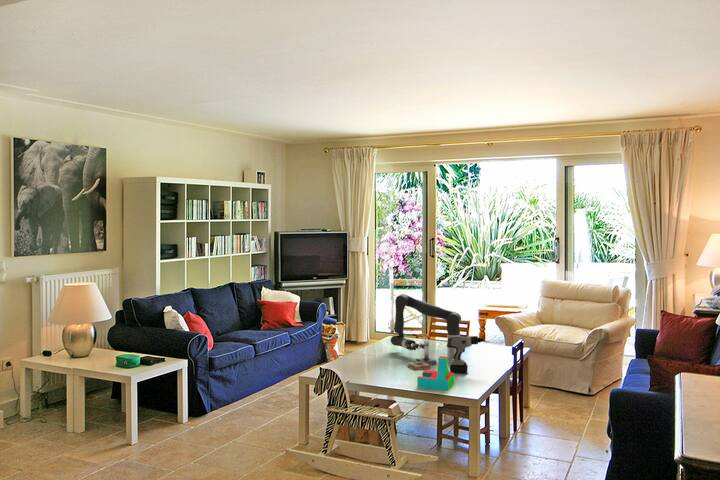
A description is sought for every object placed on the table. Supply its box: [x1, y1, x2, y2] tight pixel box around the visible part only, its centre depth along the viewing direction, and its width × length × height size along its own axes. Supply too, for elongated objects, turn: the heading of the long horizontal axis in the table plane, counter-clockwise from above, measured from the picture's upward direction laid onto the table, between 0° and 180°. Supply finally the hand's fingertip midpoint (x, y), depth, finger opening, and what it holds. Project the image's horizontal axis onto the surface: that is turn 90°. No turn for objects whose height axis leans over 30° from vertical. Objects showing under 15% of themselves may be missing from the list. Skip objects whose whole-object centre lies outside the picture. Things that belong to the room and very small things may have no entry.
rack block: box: [407, 361, 432, 371], centre depth 422 cm, size 12×10×2 cm
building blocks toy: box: [416, 356, 455, 391], centre depth 381 cm, size 19×25×18 cm
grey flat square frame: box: [416, 357, 437, 365], centre depth 436 cm, size 10×10×2 cm
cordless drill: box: [446, 335, 485, 375], centre depth 409 cm, size 8×24×25 cm, turn 78°
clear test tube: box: [423, 339, 430, 360], centre depth 436 cm, size 3×3×16 cm
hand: (420, 348), depth 443 cm, fingers open, 8 cm apart
